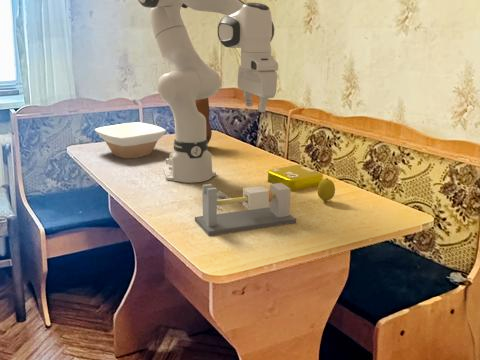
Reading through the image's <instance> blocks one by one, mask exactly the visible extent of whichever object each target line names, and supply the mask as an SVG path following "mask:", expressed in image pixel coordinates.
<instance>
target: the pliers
mask: <svg viewBox="0 0 480 360" xmlns="http://www.w3.org/2000/svg"><path fill="white" fill-rule="evenodd" d="M223 199H231V197H230V196H228V195H227V194H225V193H224V192H222V190H218V193H217V200H223ZM238 204H241V205H243V202H238ZM217 210H219V211H223V209H222V207H221V205H217Z"/></svg>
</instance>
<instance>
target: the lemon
mask: <svg viewBox="0 0 480 360" xmlns="http://www.w3.org/2000/svg"><path fill="white" fill-rule="evenodd" d="M316 191H317V195H318V198H320V200H322V201H323V202H324V203H328V201H330V200H332V199H333V198H334V196H335V193H336V187H335V183H334V181H333V180H331V179H329V178H328V177H326V178H323V180H322V181H321V182H320V183H319V185H318V186H317V190H316Z"/></svg>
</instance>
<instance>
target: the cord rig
mask: <svg viewBox="0 0 480 360" xmlns="http://www.w3.org/2000/svg"><path fill="white" fill-rule="evenodd" d="M268 191H269V207H268V208H261V209H253V210H249V209H245V210H237V211H231V212H223V213H218V212H217V211H218V209H217V205H219V206H222V205H229V204H237V203H238V202H246V201H248V196H247V197H243V196H241V197H240V196H239V197H233V198H231V197H230V198H231V199H224V198H223V199H221V200H217V188H216V187H213V185H212V183H208V184H202V216H201V215H200V216H194V222H195V223H196V224H197V225H198V226H199V227H200V228H201V230H203V231H204V232H205V234H207V235H208V237H209V236H216V235H221V234H228V233H229V234H230V233H236V232H243V231H248V230H250V231H251V230H255V229H256V230H257V229H263V228H268V227H276V226H282V225H289V224H296V223H297V218H296V217H294V216H293V215H291V214H290V206H291V205H290V204H291V202H290V201H291V191H290V188H288V187H287V186H285V185H284V184H282V183H276V184H272V183H270V185H269V190H268ZM238 204H239V203H238Z"/></svg>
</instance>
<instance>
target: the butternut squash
mask: <svg viewBox="0 0 480 360" xmlns="http://www.w3.org/2000/svg"><path fill="white" fill-rule="evenodd" d="M195 102H196V107H197V110H198V112H200V113H202V114H203V115H204V116H205V118H206V138H207V141H208V144H209V142H210V141H211V139H212V136H213V133H212V132H213V131H212V127H211V123H210V114H211V113H210V111H211V110H210V103H209V97H208V98H205V99H199V100H196V101H195Z"/></svg>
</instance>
